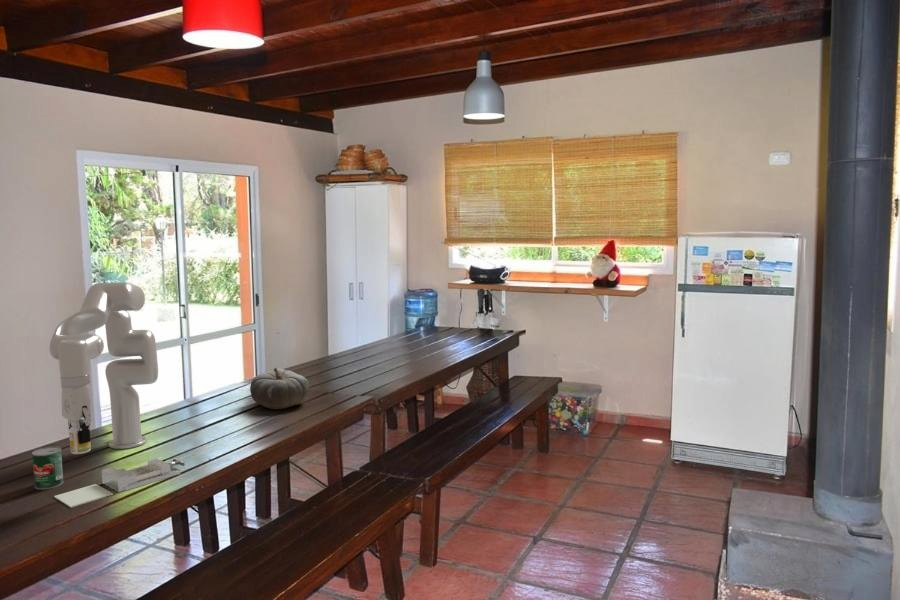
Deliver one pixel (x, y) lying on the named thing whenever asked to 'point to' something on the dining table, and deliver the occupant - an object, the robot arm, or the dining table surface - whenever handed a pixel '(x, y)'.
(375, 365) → the dining table surface
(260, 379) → the gourd
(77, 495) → the pad
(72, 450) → the supplement bottle
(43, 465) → the canned tomato
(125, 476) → the vise
